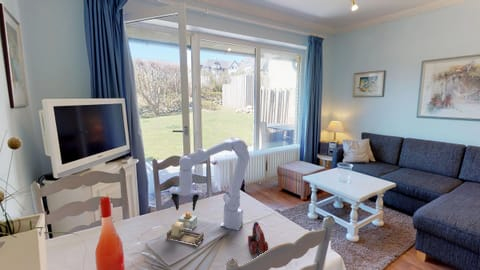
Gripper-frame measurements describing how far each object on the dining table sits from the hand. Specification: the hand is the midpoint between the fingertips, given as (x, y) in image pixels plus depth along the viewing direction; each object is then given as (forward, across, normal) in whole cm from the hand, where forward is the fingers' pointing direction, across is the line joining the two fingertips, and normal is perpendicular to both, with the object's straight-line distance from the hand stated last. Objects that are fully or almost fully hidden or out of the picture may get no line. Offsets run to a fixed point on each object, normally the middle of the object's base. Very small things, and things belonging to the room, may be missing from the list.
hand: (185, 209), depth 108 cm
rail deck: (+10, -2, +7) cm, 13 cm away
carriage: (+9, +2, +7) cm, 11 cm away
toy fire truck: (+11, -34, +11) cm, 37 cm away
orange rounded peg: (+6, -1, -2) cm, 7 cm away
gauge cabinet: (+10, 0, -2) cm, 11 cm away
